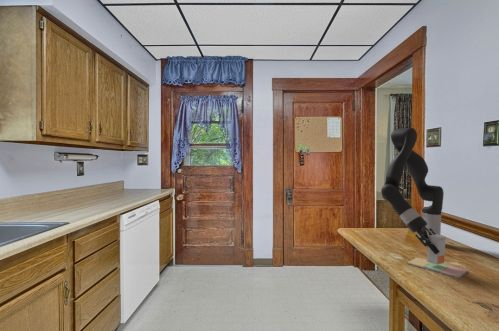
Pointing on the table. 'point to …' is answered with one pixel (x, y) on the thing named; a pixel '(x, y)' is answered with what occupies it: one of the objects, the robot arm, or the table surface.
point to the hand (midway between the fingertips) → (440, 251)
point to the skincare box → (440, 245)
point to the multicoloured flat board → (438, 268)
